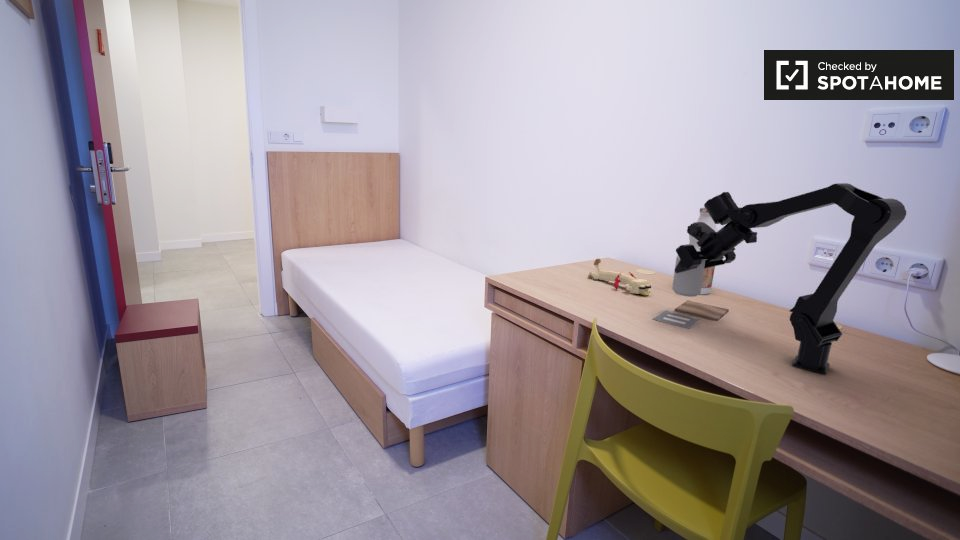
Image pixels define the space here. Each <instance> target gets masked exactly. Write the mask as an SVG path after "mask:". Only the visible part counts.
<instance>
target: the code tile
mask: <svg viewBox="0 0 960 540" xmlns="http://www.w3.org/2000/svg"><path fill="white" fill-rule="evenodd" d="M652 320H654V321H657V322H661V323H665V324H669V325H672V326H673V325H674V326H677V327H680V328H685V329H691V328H692V327H693V326H694V325H695V324H697V323H699V321H700V320H701V318H699V317H698V318H697V317H694V316H690V315H689V316H688V315H685V314H682V313H678V312H672V311H668V310H664V311H662V312H661V313H659V314H658V315H657V316H655V317H653V318H652Z"/></svg>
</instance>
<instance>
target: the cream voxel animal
mask: <svg viewBox="0 0 960 540" xmlns="http://www.w3.org/2000/svg"><path fill="white" fill-rule="evenodd" d="M601 261H602V260H601V258H596V259H595V260H594V262H593V265H594V267H595V269H596V272H593V271H589V272H588V275H587V278H588V279H589V278H593V279H594V280H598V279H599V280H600V281H607V282H613V287H614V289H615V290H616V289H619V287H620V285H623V286H624V287H625V288H626V291H628V293H629V294H637V295H639V294H640V295H642V296H648V295H649V294H650V293H652V291H650V290H649V289H652V284H650V283H649V282H650V281H648V280H646V279H644V278H638V279H637V278H636V277H635V275H634V274H633V273H632V272H630V271H629V272H628V274H630V275H627V274H626V273H622V272H618V271H612V270H603V269H602V268H601V266H600V265H599V264H601V263H602V262H601ZM599 280H598V281H599Z"/></svg>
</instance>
